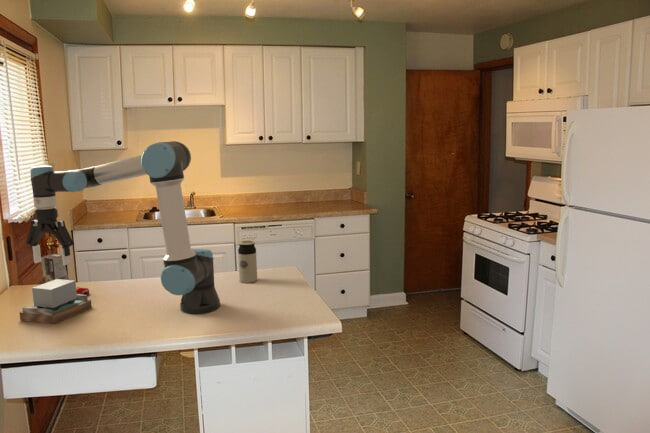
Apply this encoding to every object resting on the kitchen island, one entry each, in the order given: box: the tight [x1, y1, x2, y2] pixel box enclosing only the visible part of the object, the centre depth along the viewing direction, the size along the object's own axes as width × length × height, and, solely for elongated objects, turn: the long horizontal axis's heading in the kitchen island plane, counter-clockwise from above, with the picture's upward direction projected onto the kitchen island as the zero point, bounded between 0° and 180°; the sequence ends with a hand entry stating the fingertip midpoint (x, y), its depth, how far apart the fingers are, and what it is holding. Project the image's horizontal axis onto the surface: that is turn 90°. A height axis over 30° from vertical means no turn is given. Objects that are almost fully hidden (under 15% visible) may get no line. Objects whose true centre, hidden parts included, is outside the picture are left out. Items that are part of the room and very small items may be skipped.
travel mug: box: [237, 239, 258, 284], centre depth 249 cm, size 8×8×18 cm
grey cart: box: [31, 279, 77, 310], centre depth 210 cm, size 9×12×8 cm
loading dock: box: [18, 294, 93, 325], centre depth 211 cm, size 16×19×5 cm
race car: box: [76, 286, 90, 296], centre depth 230 cm, size 13×5×4 cm, turn 156°
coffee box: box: [41, 253, 70, 284], centre depth 237 cm, size 9×6×16 cm
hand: (52, 263), depth 208 cm, fingers open, 13 cm apart
